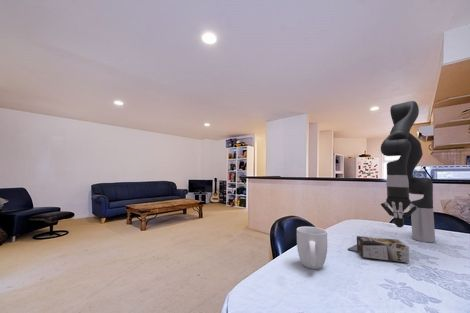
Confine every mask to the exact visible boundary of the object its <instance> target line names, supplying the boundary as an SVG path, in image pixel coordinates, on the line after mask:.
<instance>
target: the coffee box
mask: <svg viewBox="0 0 470 313" xmlns="http://www.w3.org/2000/svg"><path fill="white" fill-rule="evenodd" d="M356 244H357V250H358V252H359V253H358V254H360V255H361V257H363V258H367V259H375V260H382V259H383V260H382V261H386V260H391V261H392V262H401V263H410V247H409V245H407V244H406V243H404V242H402V241H401V240H399V239H397V238H396V239H395V238H383V237H371V236H360V235H358V236H357V235H356Z"/></svg>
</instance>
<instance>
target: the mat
mask: <svg viewBox="0 0 470 313" xmlns="http://www.w3.org/2000/svg"><path fill="white" fill-rule="evenodd" d="M347 251H350V252H353V253H355V254H356V253H357V254H360V253H359V252H358V250H357V243H356V244H354V245H352V246H350V247H348V248H347ZM381 260H382V261H384V260H383V259H381ZM385 261H386V262H391V261H392V260H385Z"/></svg>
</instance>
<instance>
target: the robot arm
mask: <svg viewBox="0 0 470 313" xmlns="http://www.w3.org/2000/svg"><path fill="white" fill-rule="evenodd" d="M419 113H420V109H419V105H418V103H417V102H416V101H414V100H410V101H409V100H408V101H404V102H401V103H397V104H392V105H391V107H390V117H391V119H392V123H393V126H392V127H391V130H390V132H389V135H388V136H387V137H385V139H384V140H383V141H382V142H381V145H380V152H381V154H382V155H383V156H385V157H398V156H399V158H398V159H396V160H392V161H388V162H387V163H386V184H385V185H386V197H387V198H386V199H385V201H384V202H382V203H380V206H381V207H382V208H383V209H384V211H386V213H387V214H388V215H389V216H390V217H393V218H394V225H395V226H396V228H403V227H404V226H405V219H407V218H409V217H410V216H411V218H410V219H411V220H410V221H411V238H412V239H413V240H415V241H418V242H424V243H436V232H435V218H434V216H435V215H434V184H433V183H434V182H433V180H432V178H430V177H414V171H415V169H416V167H417V165H418V164H419V163H420V161H421V159H422V157H423V155H424V154H423V149H422V143H421V142H420V140H419V139H418V138H417V137H416V136H414V135H413V134H412V133H411V132H410V131H411V129H412V127H413V126H414V124H415V122H416V121H417V119H418V117H419V115H420V114H419ZM410 194H411V195H421V196H422V195H423V197H422V198H419V199H416V200H410ZM408 207H409V210H408V211H407V212H406V213H405V210H407V209H408Z"/></svg>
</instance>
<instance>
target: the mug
mask: <svg viewBox="0 0 470 313" xmlns="http://www.w3.org/2000/svg"><path fill="white" fill-rule="evenodd" d="M296 247H297V248H296V249H297V254H298V257H299V260H300V262H301V264H302V265H303V266H304V267H305V268H308V269H311V270H319V269H322V268H323V266H324V264H325V262H326V258H327V254H328V231H327V230H325V229H324V228H321V227H316V226H299V227H297V228H296Z"/></svg>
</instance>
